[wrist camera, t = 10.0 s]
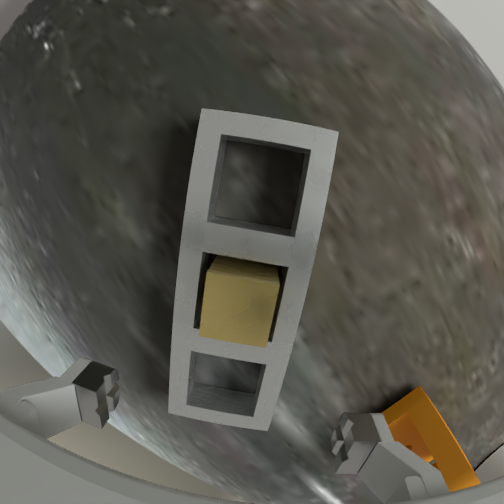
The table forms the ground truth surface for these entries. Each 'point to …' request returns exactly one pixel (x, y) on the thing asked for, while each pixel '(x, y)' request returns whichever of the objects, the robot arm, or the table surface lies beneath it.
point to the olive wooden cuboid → (239, 301)
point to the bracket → (430, 438)
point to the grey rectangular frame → (250, 248)
